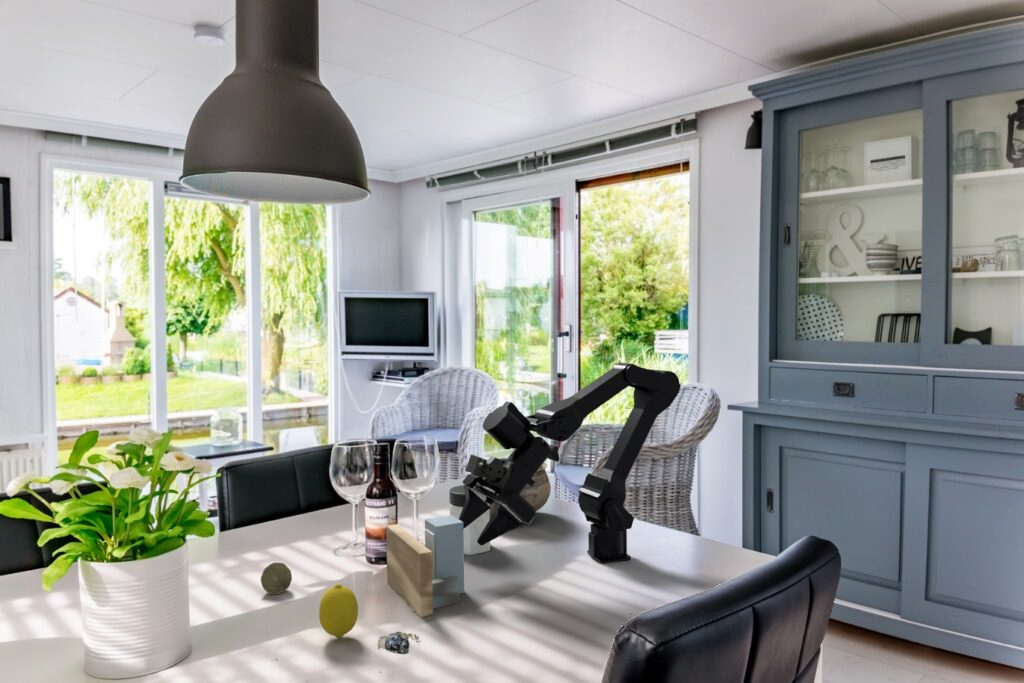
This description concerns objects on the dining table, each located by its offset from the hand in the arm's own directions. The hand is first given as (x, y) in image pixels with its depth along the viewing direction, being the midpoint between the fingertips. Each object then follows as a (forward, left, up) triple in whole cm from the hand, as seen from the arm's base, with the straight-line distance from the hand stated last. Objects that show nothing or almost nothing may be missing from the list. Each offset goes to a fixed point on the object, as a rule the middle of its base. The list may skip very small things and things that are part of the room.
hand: (467, 536), depth 124 cm
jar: (-5, -19, -9) cm, 22 cm away
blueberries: (+15, +19, -9) cm, 26 cm away
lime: (+32, -8, -9) cm, 34 cm away
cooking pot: (-19, -37, -9) cm, 43 cm away
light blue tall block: (+4, +1, -9) cm, 10 cm away
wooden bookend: (+8, +1, -9) cm, 12 cm away
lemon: (+23, +14, -9) cm, 28 cm away
